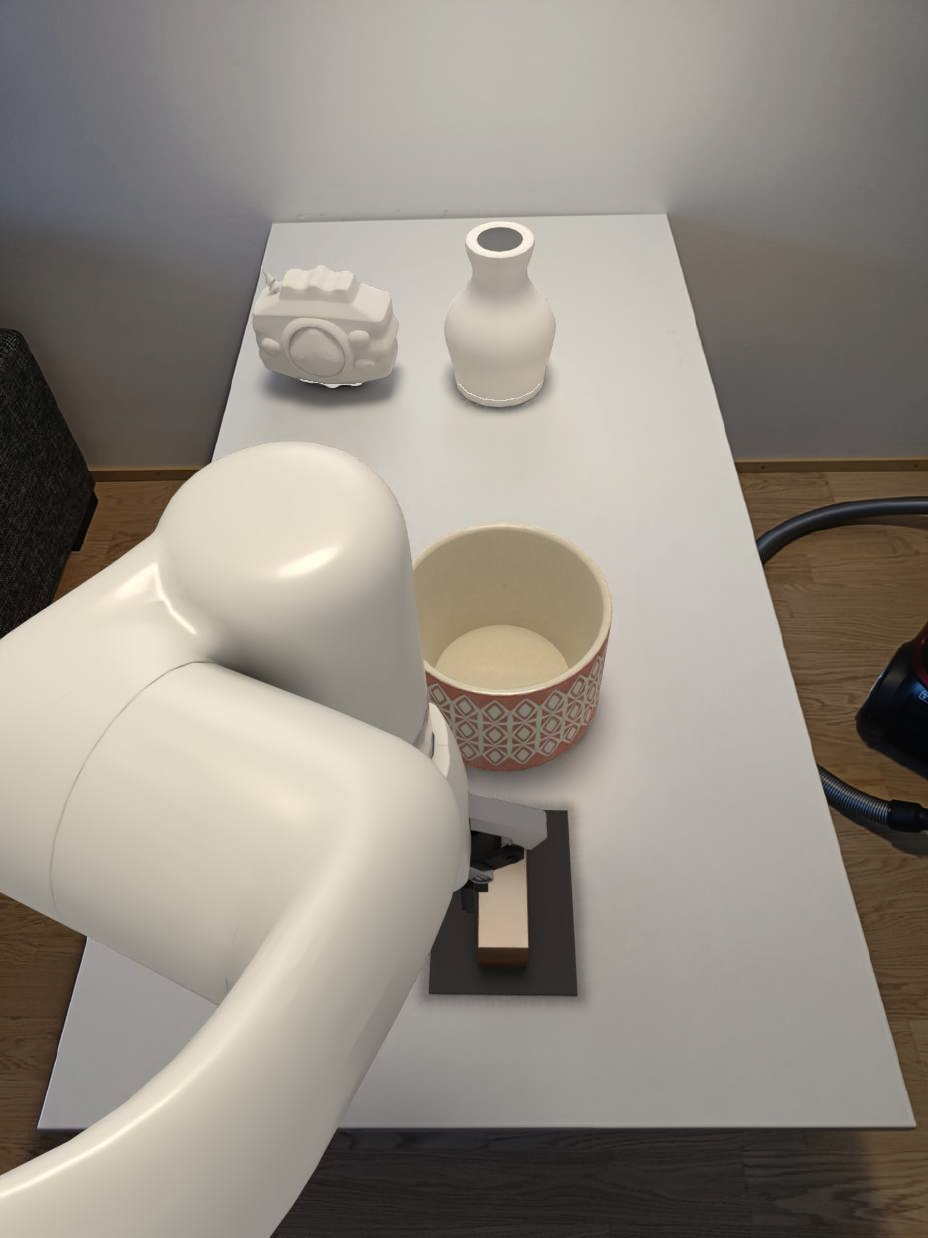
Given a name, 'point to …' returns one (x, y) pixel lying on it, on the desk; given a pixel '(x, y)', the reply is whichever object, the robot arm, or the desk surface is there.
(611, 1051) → the desk surface
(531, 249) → the vase
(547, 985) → the black mat
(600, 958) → the desk surface
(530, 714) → the planter
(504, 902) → the bar
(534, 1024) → the desk surface
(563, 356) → the desk surface
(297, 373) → the camera
